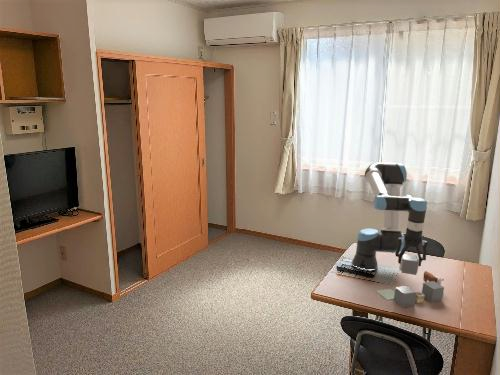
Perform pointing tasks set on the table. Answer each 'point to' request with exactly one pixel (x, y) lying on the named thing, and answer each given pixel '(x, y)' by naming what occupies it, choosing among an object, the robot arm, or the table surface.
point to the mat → (387, 294)
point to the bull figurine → (431, 278)
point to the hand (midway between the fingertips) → (408, 270)
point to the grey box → (409, 264)
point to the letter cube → (419, 297)
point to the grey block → (404, 296)
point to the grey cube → (432, 291)
